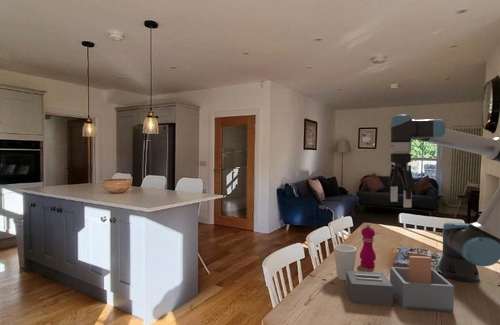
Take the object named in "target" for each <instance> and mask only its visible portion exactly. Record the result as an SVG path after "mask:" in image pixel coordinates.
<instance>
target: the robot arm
mask: <svg viewBox="0 0 500 325" xmlns="http://www.w3.org/2000/svg"><path fill="white" fill-rule="evenodd" d="M416 140H417V141H420V142H425V143H430V144H432V145H433V144H434V145H438V146H442V147H448V148H452V149H455V150H460V151H464V152H467V153H468V152H469V153H472V154H476V155H481V156H485V157H486V159H488V160H491V161H496V162H499V163H500V137H494V138H490V137H486V136H482V135H477V134H472V133H468V132H467V133H466V132H464V131H459V130H455V129H450V128H447V126H446V123H445V120H443V119H442V118H441V119H437V118H431V119H430V118H429V119H413V118H412V115H411V114H397V115H393V116H392V117H391V119H390V144H389V148H390V152H391V154H390V162H391V169H390V172H389V173H390V174H389V179H388V185H389V186H390V202H391V203H392V202H393V203H394V202H396V203H397V202H398V197H399V196H398V193H399V192H398V190H399V184H398V183H399V181H400V178H401V182H402V185H403V188H402V189H403V190H402V191H403V208H412V205H413V204H412V202H413V201H412V194H413V192H412V191H414V190H416V189H415V188H416V186H415V182H414V177H413V173H412V165H410V164H408V163H411V162H412V154H411V152H412V141H416ZM499 261H500V185H499V186H497V189H496V191H495V192H494V194H493V195H492V197H491V198H490V200H489V201H488V203H487V204H486V206H485V208H484V209H483V211H482V212H481V214H480V215H479V217H478V218H477V221H475V222H470V223H464V222H463V223H462V222H445V223H444V224H443V228H442V255H441V258H440V259H439V262H438V263H437V264H438V265H437V270H438V269H439V270H440V271H441V272H442V274H443V275H442V277H444V278H448V279H451V280H454V281H459V282H467V283H470V282H471V283H473V282H478V281H479V279H480V273H479V270H478V267H490V266H493V265H495V264H497V263H498V262H499ZM477 266H478V267H477Z"/></svg>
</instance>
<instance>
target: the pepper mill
mask: <svg viewBox="0 0 500 325" xmlns="http://www.w3.org/2000/svg"><path fill="white" fill-rule="evenodd" d="M360 233H361V235H362V241H363V246H362V248H361V250H360V253H359V258H360V265H361V267H363V268H366V269H372V268H375V261H376V258H377V256H376V252H375V250H374V248H373V242H374V239H375V238H374V237H375V235H376V231H375V229H374V228H372V227H371V225H370V224H366V225H365V227H363V228H362V229H361V232H360Z"/></svg>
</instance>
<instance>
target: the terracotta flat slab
mask: <svg viewBox="0 0 500 325" xmlns="http://www.w3.org/2000/svg"><path fill="white" fill-rule="evenodd" d="M408 268H409V282H411V283H427V284H431V269H432V257H430V256H423V255H422V256H419V255H408Z"/></svg>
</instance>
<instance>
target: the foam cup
mask: <svg viewBox="0 0 500 325" xmlns="http://www.w3.org/2000/svg"><path fill="white" fill-rule="evenodd" d="M357 250H358V249H357V247H355V246H354V245H349V244H336V245H334V246H333V254H334V260H335V267H336V268H335V269H336V275H337V277H338V278H339V279H338V278H337V277H336V278H337V279H338V280H340V279H341V281H344V280H345V282H346V271H355V265H356V264H355V263H356V258H357V255H358V254H357V252H358V251H357Z"/></svg>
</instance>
